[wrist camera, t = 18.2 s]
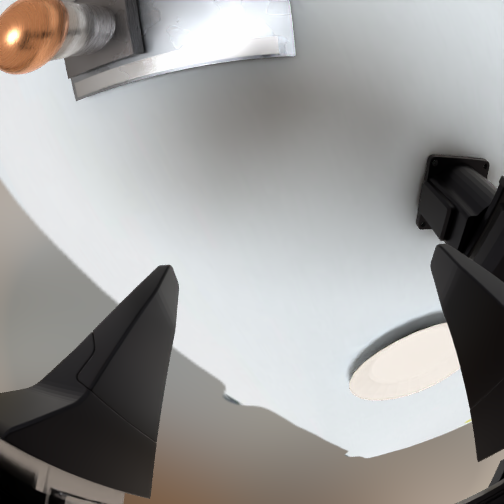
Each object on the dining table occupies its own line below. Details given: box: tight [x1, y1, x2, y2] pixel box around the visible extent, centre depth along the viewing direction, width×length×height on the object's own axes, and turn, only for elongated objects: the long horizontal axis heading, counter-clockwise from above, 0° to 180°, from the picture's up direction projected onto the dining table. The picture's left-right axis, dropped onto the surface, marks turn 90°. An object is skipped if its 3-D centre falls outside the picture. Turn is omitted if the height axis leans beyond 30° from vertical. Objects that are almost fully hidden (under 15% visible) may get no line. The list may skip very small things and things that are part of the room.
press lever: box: [0, 0, 144, 79], centre depth 8 cm, size 4×5×9 cm
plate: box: [349, 322, 460, 400], centre depth 35 cm, size 21×21×2 cm
